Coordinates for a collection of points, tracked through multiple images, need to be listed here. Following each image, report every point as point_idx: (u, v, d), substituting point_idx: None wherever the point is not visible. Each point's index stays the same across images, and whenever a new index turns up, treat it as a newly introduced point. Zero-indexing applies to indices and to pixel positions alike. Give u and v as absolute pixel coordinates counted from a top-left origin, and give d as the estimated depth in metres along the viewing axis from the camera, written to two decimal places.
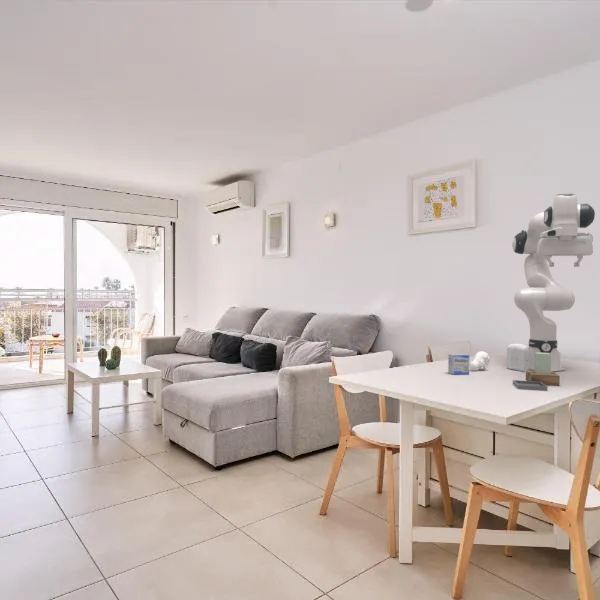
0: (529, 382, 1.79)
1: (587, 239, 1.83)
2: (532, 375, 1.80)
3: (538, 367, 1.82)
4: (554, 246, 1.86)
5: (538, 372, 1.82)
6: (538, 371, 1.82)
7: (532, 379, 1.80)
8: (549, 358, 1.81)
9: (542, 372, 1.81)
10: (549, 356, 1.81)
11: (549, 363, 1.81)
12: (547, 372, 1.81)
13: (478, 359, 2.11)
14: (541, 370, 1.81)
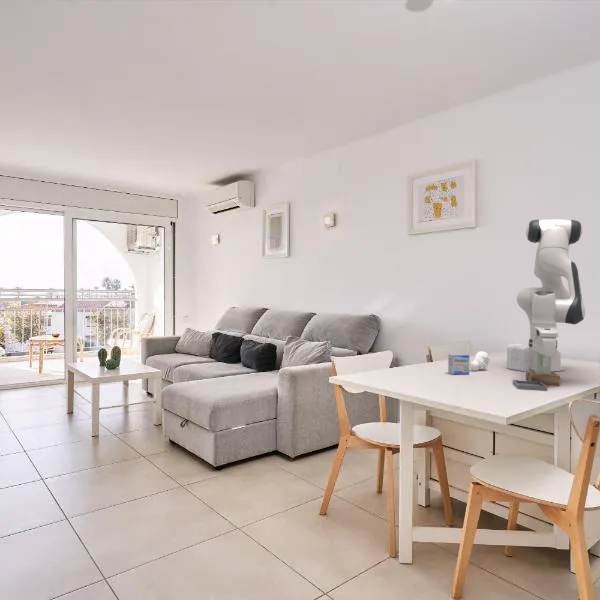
0: (529, 382, 1.79)
1: None
2: (532, 375, 1.80)
3: (538, 367, 1.82)
4: None
5: (538, 372, 1.82)
6: (538, 371, 1.82)
7: (532, 379, 1.80)
8: (549, 358, 1.81)
9: (542, 372, 1.81)
10: None
11: (549, 363, 1.81)
12: (547, 372, 1.81)
13: (478, 359, 2.11)
14: (541, 370, 1.81)
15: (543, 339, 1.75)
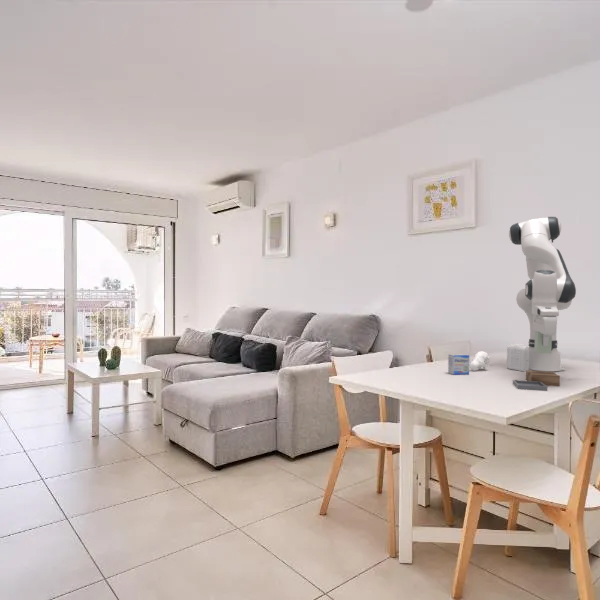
0: (529, 382, 1.79)
1: None
2: (532, 375, 1.80)
3: (539, 346, 1.82)
4: None
5: (538, 351, 1.82)
6: (538, 350, 1.82)
7: (532, 379, 1.80)
8: (550, 337, 1.81)
9: (542, 351, 1.81)
10: (550, 335, 1.81)
11: (550, 342, 1.81)
12: (547, 351, 1.81)
13: (478, 359, 2.11)
14: (541, 349, 1.81)
15: (544, 318, 1.75)
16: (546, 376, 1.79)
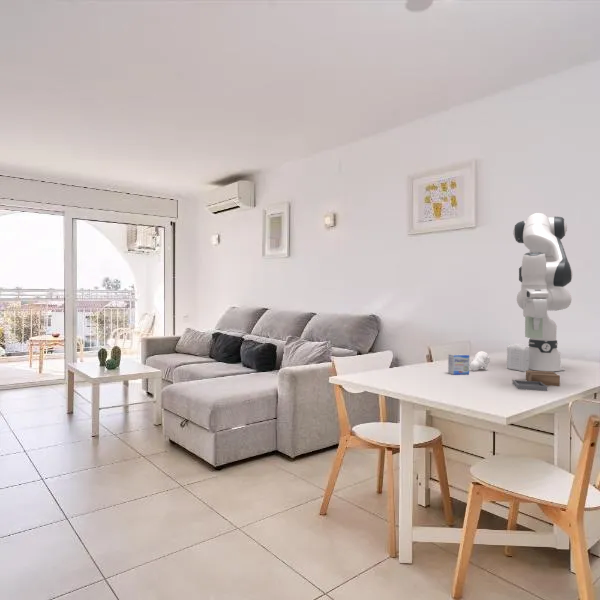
0: (529, 382, 1.79)
1: None
2: (532, 375, 1.80)
3: (529, 331, 1.74)
4: None
5: (529, 336, 1.74)
6: (529, 335, 1.74)
7: (532, 379, 1.80)
8: (540, 321, 1.73)
9: (533, 336, 1.74)
10: (540, 319, 1.73)
11: (540, 326, 1.73)
12: (539, 336, 1.73)
13: (478, 359, 2.11)
14: (532, 334, 1.74)
15: (533, 300, 1.68)
16: (546, 376, 1.79)
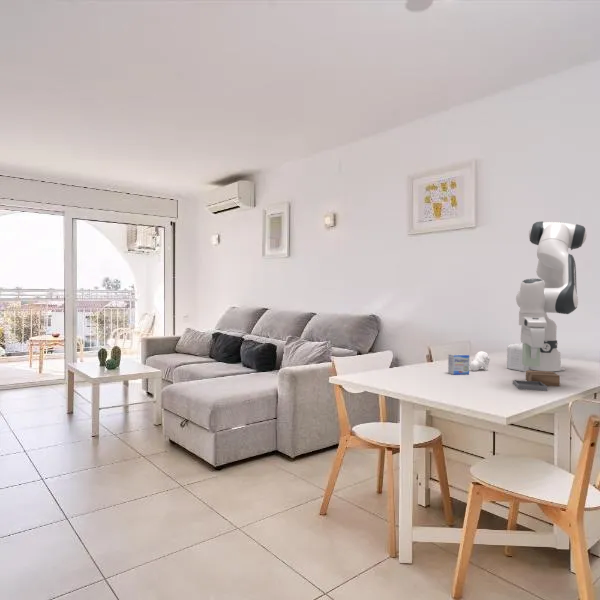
0: (529, 382, 1.79)
1: None
2: (532, 375, 1.80)
3: (526, 359, 1.72)
4: None
5: (526, 364, 1.72)
6: (526, 363, 1.72)
7: (532, 379, 1.80)
8: (538, 349, 1.71)
9: (531, 364, 1.72)
10: None
11: (538, 355, 1.71)
12: (536, 364, 1.72)
13: (478, 359, 2.11)
14: (529, 362, 1.72)
15: (531, 329, 1.66)
16: (546, 376, 1.79)
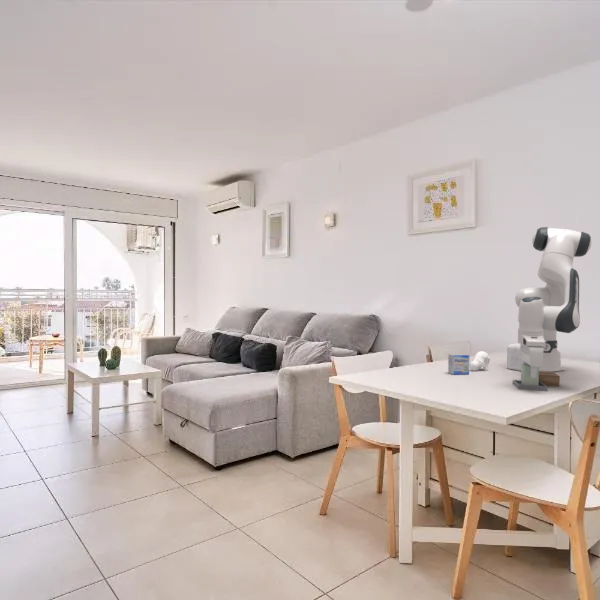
0: None
1: None
2: None
3: (525, 380, 1.73)
4: None
5: None
6: (525, 384, 1.73)
7: None
8: None
9: None
10: None
11: (536, 376, 1.72)
12: (534, 385, 1.72)
13: (478, 359, 2.11)
14: (528, 383, 1.73)
15: (530, 348, 1.66)
16: (546, 376, 1.79)
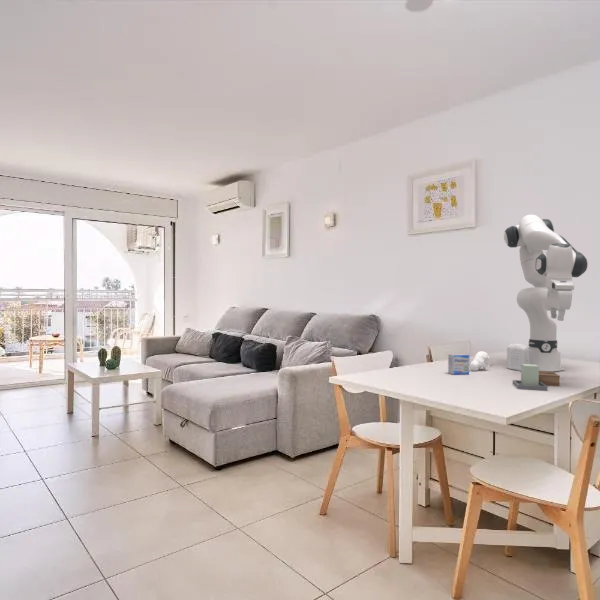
0: None
1: None
2: None
3: (525, 380, 1.73)
4: None
5: None
6: (525, 384, 1.73)
7: None
8: (536, 370, 1.72)
9: None
10: (536, 368, 1.72)
11: (536, 376, 1.72)
12: (534, 385, 1.72)
13: (478, 359, 2.11)
14: (528, 383, 1.73)
15: (559, 291, 1.71)
16: (546, 376, 1.79)
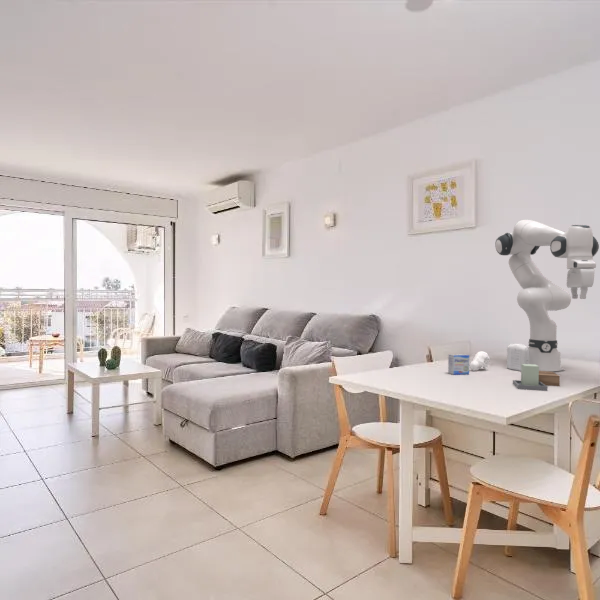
0: None
1: None
2: None
3: (525, 380, 1.73)
4: None
5: None
6: (525, 384, 1.73)
7: None
8: (536, 370, 1.72)
9: None
10: (536, 368, 1.72)
11: (536, 376, 1.72)
12: (534, 385, 1.72)
13: (478, 359, 2.11)
14: (528, 383, 1.73)
15: (581, 269, 1.76)
16: (546, 376, 1.79)
